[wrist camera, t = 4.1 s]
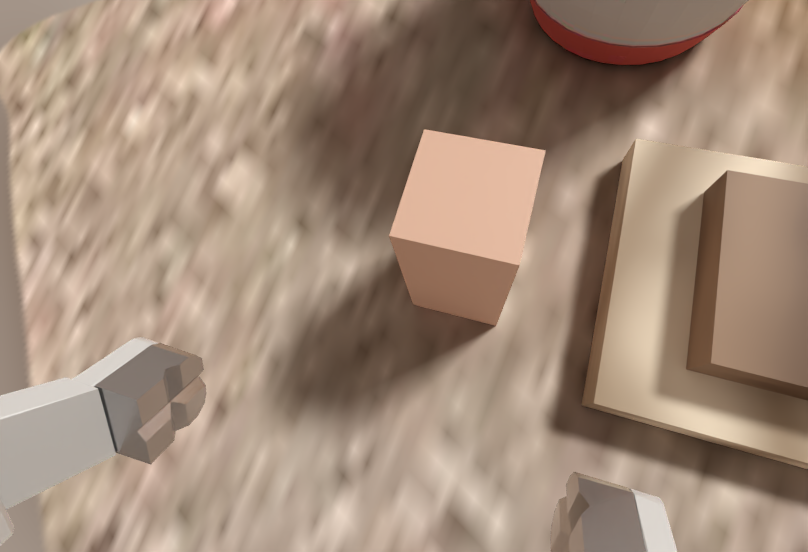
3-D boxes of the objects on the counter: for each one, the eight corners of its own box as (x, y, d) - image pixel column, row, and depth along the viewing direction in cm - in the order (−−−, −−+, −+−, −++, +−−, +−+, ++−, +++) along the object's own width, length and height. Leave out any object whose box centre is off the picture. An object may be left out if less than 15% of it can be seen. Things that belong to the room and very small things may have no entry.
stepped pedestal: (958, 218, 22) (1062, 175, 18) (985, 519, 18) (1126, 544, 14) (622, 160, 25) (652, 112, 21) (581, 405, 21) (608, 400, 17)
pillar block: (514, 248, 24) (545, 150, 16) (495, 326, 23) (519, 265, 14) (434, 230, 25) (423, 129, 16) (413, 304, 24) (389, 235, 15)
